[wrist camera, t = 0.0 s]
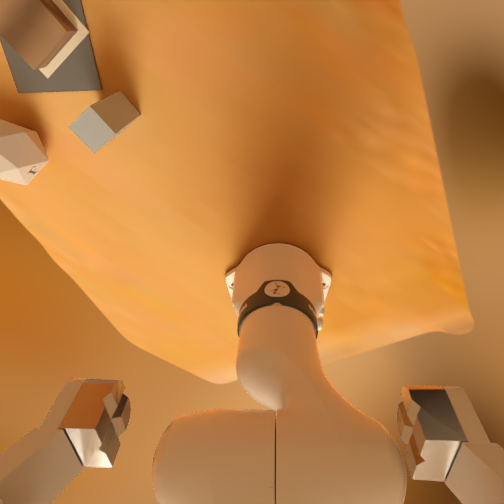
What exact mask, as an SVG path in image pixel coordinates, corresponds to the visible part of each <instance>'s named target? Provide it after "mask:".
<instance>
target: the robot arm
mask: <svg viewBox="0 0 504 504" xmlns="http://www.w3.org/2000/svg"><path fill="white" fill-rule="evenodd" d="M331 281H332V276H331V274H330V273H329V272H328V271H326V270H325V269H323V268H321V267H319V266H318V265H317V264H316V263H315V261H314V260H313V259H312V257H311V256H310V255H309V254H307V253H306V252H305V251H303V250H302V249H300V248H298V247H295V246H292V245H289V244H282V243H274V244H267V245H263V246H260V247H258V248H256V249H254V250H252V251H251V252H250V253H248V254H247V255H246V256H245V257H244V259H243V260H242V261H241V263H240V264H239V265H238V266H237V267H236V268H234V269H232V270H230V271H229V272H228V273H227V274H226V275H225V282H226V285H227V287H228V290H229V293H230V296H231V299H232V306H234V308H235V311H236V314H237V316H238V322H237V326H238V336H239V343H238V351H237V359H236V373H237V377H238V380H239V382H240V383H241V385H242V387H243V388H244V389H245V391H246V392H247V393H248V394H249V395H250V396H251V397H252V398H253V399H254V400H256V401H257V402H259V403H261V404H263V405H264V406H266V407H268V408H270V409H271V410H248V409H213V410H207V411H200V412H195V413H191V414H186V415H181V416H178V417H177V418H176V419H174V420H173V421H172V422H171V424H170V425H169V426H168V427H167V428H166V430H165V431H164V433H163V434H162V436H161V438H160V440H159V442H158V444H157V447H156V450H155V453H154V457H153V464H152V483H153V488H154V493H155V496H156V499H157V501H158V503H159V504H403V502H404V498H405V493H406V471H405V465H404V461H403V457H402V455H401V452H400V450H399V447H398V446H397V444H396V442H395V440H394V439H393V437H392V436H391V434H390V433H389V432H388V431H387V430H386V428H385V427H384V426H383V425H382V424H381V423H380V422H378V421H377V420H375V419H373V418H371V417H369V416H367V415H366V414H364V413H363V412H361V411H359V410H358V409H357V408H355V407H354V406H353V405H351V404H350V403H349V402H348V401H347V400H345V399H344V398H343V397H342V396H341V395H340V394H339V393H338V392H337V391H336V389H335V388H334V387H333V386H332V385H331V383H330V382H329V381H328V379H327V377H326V376H325V374H324V372H323V370H322V367H321V363H320V359H319V354H318V349H317V343H316V339H317V335H318V331H320V330H321V329H322V324H323V320H322V318H321V317H320V316H323V315H324V308H323V306H324V302H325V299H326V296H327V293H328V290H329V287H330V284H331ZM232 283H233V284H232ZM323 283H325V284H323ZM124 389H125V387H124V384H123V381H122V380H102V379H101V380H100V379H78V378H71V379H70V380H69V381H68V382H67V383H66V384H65V385H64V387H63V389H62V391H61V392H60V394H59V396H58V397H57V399H56V401H55V403H54V405H53V406H52V408H51V409H50V412H49V413H48V415H47V416H46V418H45V420H44V422H43V423H42V425H41V427H40V428H39V429H38V428H35V429H33V430H32V431H31V432H29V433H28V434H27V435H25V436H24V437H23V438H21V439H20V440H19V441H17V442H16V443H15V444H14V445H12V446H11V447H10V448H8V449H7V450H6V451H4V452H3V453H2V454H0V504H51V503H52V501H53V500H54V499H55V498H56V497H57V496H58V495H59V494H60V493H61V492H62V491H63V490H64V489H65V488H66V486H68V485H69V483H70V482H71V481H72V480H73V479H74V478H75V477H76V476H77V475H78V474H79V473H80V472H81V471H82V470H83V467H112V466H113V463H114V461H115V458H116V455H117V452H118V450H119V447H120V442H119V439H118V437H119V436H120V435H121V434H122V433H123V432H124V431H125V430H126V428H127V425H128V422H129V418H130V411H131V409H130V401H129V398H128V397H127V396H126V395H124V394H123V391H124ZM401 396H402V399H403V401H402V402H401V403H399V404H398V408H397V425H398V430H399V434H400V438H401V440H403V442H404V443H405V444H406V445H407V446H408V447H407V450H406V454H405V456H406V459H407V463H408V466H409V470H410V473H411V477H412V479H417V480H431V481H446V482H445V484H446V485H447V486H448V487H449V488H450V490H451V491H452V492H453V493H454V494H455V496H456V497H457V498H458V499H459V500H460V502H461V503H462V504H504V449H502V448H501V447H500V446H499V445H498V444H496V443H490V441H489V439H488V437H487V435H486V433H485V431H484V429H483V427H482V425H481V423H480V421H479V419H478V417H477V415H476V413H475V411H474V409H473V406H472V404H471V402H470V400H469V398H468V396H467V394H466V392H465V390H464V389H463V388H461V387H440V386H404V387H403V388H402V392H401ZM276 413H277V414H276Z"/></svg>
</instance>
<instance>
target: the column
mask: <svg viewBox="0 0 504 504" xmlns="http://www.w3.org/2000/svg"><path fill="white" fill-rule="evenodd" d="M140 115H141V114H140V113H139V112H138V111H137V109H136V108H135V107H134V106H133V105H132V104H131V103H130V101H129V100H128V99H127V98H126V97H125V96H124V94H123V93H122V92H121V91H118V92H116V93H114V94H112V95H110V96H108V97H106V98H104V99H102V100H100V101H98V102H97V103H95V104H93V105H91V106H89V107H88V108H87V109H86V110H85V111H84V112H83V113H82V114H81V115H80V116H79V117H78V118H77V119H76V120H75V121H74V122H73V123H72V124H71V125H70V126H69V128H70V129H71V130H72V131H73V132H74V133H75V134H76V135H77V136H78V137H79V138H80V139H81V140H82V141H83V142H84V143H85V144H86V145H87V146H88V147H89V148H90V149H91V150H92V151H93V152H94V153H95V152H97V151H98V150H99V149H100V148H102V147H103V146H104V145H106V144H107V143H108V142H109V141H111V140H112V139H113V138H115V137H116V136H117V135H119V134H120V133H121V132H122V131H123V130H125V129H126V128H127V127H128V126H129V125H130V124H131V123H132V122H133V121H134V120H136V119H137V118H138V117H139V116H140Z"/></svg>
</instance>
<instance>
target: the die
mask: <svg viewBox="0 0 504 504" xmlns="http://www.w3.org/2000/svg"><path fill="white" fill-rule="evenodd" d="M48 161H49V159H48V157H47V154H46V152H45V150H44V147H43V145H42V142H41V140H40V138H39V135H38V133H37V132H36V131H33V130H31V129H28V128H25V127H22V126H19V125H16V124H13V123H10V122H7V121H5V120H2V119H0V179H2V180H6V181H10V182H14V183H18V184H22V185H26V186H27V185H28V184H29V182H30V181H31V180H32V179H33V178H34V177H35V176H36V175H37V174H38V172H39V171H40V170H41V169H42V168H43V167H44V166H45V165H46V164H47V162H48Z"/></svg>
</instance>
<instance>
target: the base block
mask: <svg viewBox="0 0 504 504" xmlns="http://www.w3.org/2000/svg"><path fill="white" fill-rule="evenodd" d="M77 31H78V30H77V29H76V27H75V26H74V25H73V24H72V23H71V22H70V21H69V19H68V18H67V17H66V16H65V15H64V14H63V12H62V11H61V10H60V9H59V8H58V7H57V5H56V4H55V3H54V2H53V1H52V0H0V35H1V36H2V37H3V38H4V39H5V41H6V42H7V43H8V44H9V45H10V46H11V47H12V48H13V49H14V50H15V51H16V52H17V53H18V54H19V55H20V56H21V57H22V58H23V59H24V60H25V62H26V63H27V64H28V65H29V66H30V67H31V68H32V69H33V70H36V69H40V68H44V67H46V66H47V65H48V64H49V63H50V62H51V61H52V60H53V58H54V57H55V56H56V55H57V54H58V53H59V52H60V51H61V49H62V48H63V47H64V46H65V45H66V44H67V43H68V42H69V40H70V39H71V38H72V37H73V36H74V35H75V34H76V32H77Z"/></svg>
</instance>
